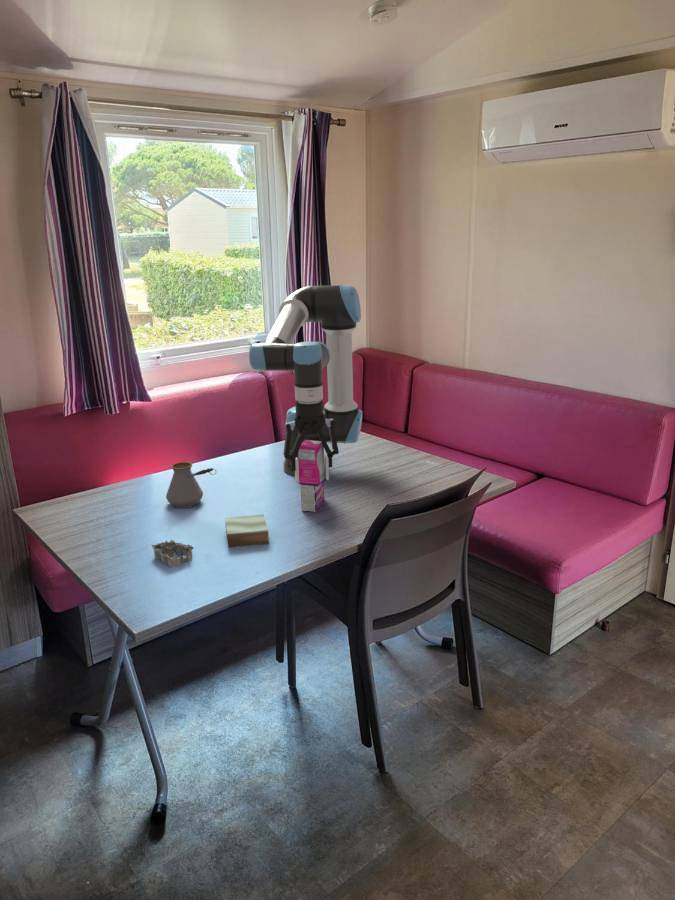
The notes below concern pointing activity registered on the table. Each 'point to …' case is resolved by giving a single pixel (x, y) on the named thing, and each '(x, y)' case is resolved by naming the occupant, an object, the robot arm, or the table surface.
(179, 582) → the table surface
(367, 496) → the table surface
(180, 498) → the coffee pot
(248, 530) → the block
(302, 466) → the supplement box
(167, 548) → the rocky terrain model
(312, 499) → the candy bar box
